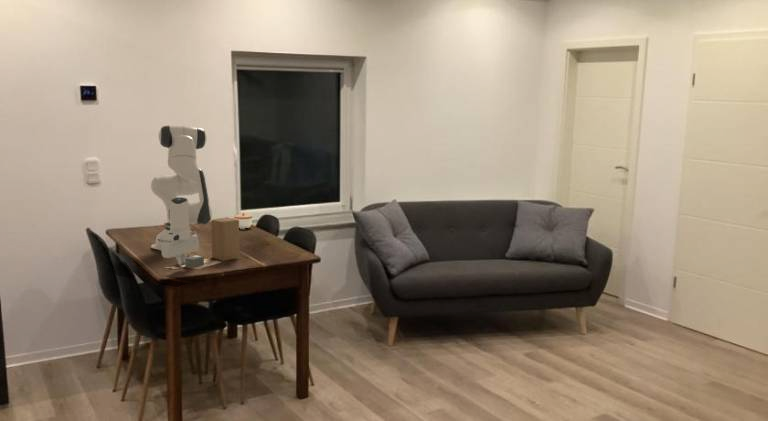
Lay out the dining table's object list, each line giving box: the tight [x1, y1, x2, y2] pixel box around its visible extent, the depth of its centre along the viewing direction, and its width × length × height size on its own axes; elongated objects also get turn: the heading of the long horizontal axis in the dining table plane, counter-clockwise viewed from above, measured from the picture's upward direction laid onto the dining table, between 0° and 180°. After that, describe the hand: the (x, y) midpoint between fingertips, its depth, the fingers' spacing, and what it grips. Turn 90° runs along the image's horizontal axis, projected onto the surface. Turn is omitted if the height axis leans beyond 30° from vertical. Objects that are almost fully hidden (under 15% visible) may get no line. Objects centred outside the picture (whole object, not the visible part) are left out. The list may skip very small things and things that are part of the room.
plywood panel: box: [179, 258, 222, 270], centre depth 315 cm, size 12×16×1 cm
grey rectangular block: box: [184, 254, 205, 269], centre depth 311 cm, size 5×7×4 cm
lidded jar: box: [233, 212, 253, 230], centre depth 406 cm, size 11×11×9 cm
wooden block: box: [210, 216, 241, 261], centre depth 328 cm, size 10×10×20 cm
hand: (181, 263), depth 304 cm, fingers closed
